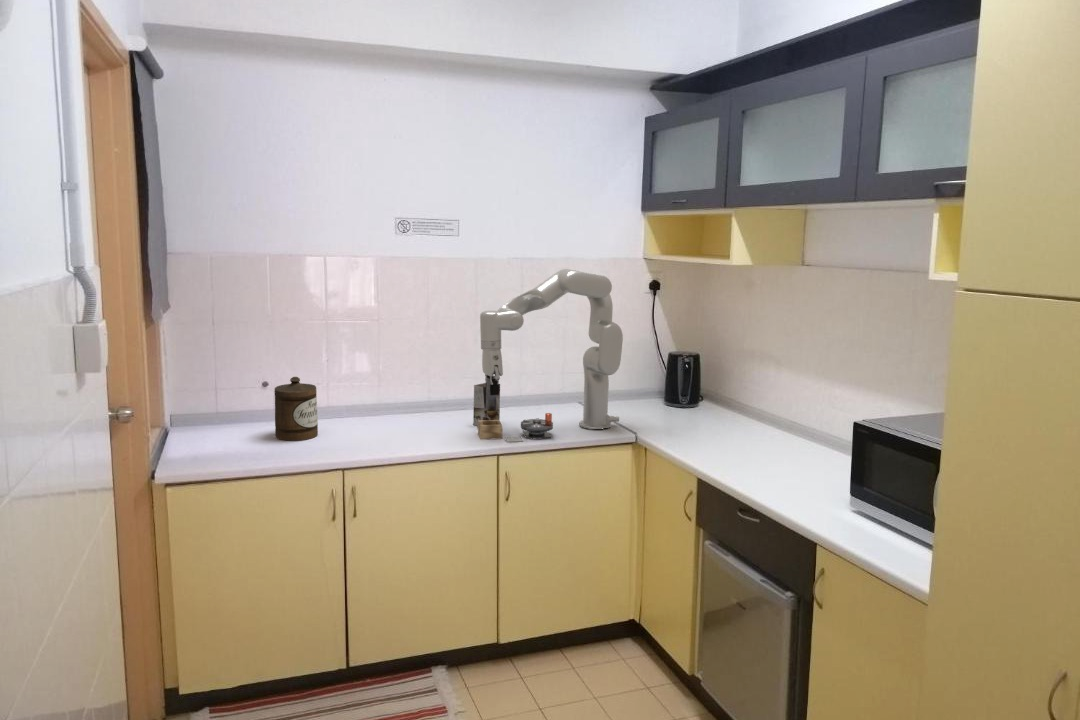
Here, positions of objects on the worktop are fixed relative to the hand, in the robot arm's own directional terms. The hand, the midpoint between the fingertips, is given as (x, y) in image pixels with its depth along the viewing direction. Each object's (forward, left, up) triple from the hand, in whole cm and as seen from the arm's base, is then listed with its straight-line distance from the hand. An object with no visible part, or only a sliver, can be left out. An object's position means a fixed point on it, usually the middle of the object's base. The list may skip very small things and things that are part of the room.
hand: (492, 393), depth 290 cm
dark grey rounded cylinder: (0, 0, -6) cm, 6 cm away
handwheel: (-17, +2, -13) cm, 22 cm away
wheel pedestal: (-17, +2, -16) cm, 23 cm away
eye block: (+1, 0, -16) cm, 16 cm away
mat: (-7, +7, -16) cm, 19 cm away
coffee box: (0, -17, -17) cm, 24 cm away
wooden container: (+71, -9, -17) cm, 73 cm away
